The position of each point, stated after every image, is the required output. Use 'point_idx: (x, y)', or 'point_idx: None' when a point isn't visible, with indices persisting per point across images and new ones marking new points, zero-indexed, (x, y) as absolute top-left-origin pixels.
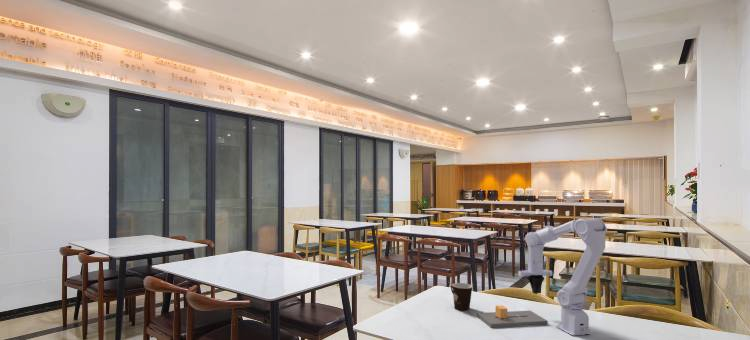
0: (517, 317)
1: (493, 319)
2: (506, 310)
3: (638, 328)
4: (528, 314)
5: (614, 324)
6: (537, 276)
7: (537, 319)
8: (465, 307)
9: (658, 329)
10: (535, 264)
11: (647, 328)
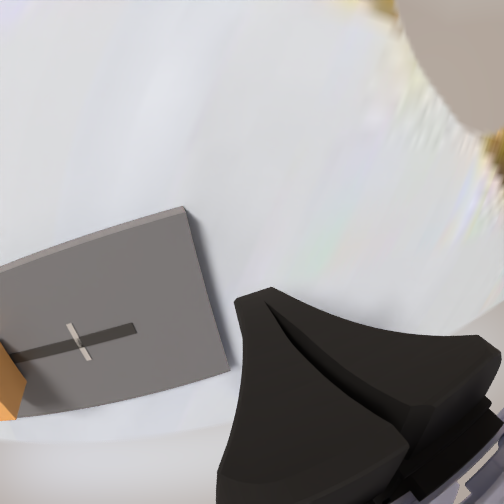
0: (73, 356)
1: None
2: (14, 411)
3: (473, 297)
4: (147, 298)
5: (455, 282)
6: (394, 500)
7: (181, 365)
8: None
9: (493, 291)
10: None
11: (484, 291)
